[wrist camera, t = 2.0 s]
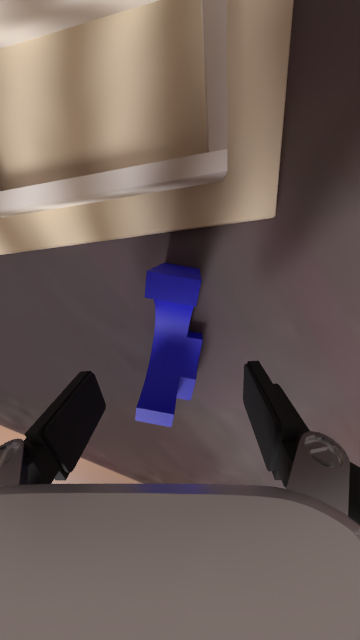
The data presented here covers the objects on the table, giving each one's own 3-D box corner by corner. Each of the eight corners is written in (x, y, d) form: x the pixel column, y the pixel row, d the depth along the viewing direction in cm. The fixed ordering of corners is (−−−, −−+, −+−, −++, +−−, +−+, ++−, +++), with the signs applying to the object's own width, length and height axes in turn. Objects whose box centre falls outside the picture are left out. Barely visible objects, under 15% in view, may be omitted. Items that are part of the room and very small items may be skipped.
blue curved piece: (191, 378, 19) (189, 430, 14) (152, 371, 19) (135, 420, 14) (216, 271, 15) (228, 285, 9) (164, 262, 15) (146, 270, 9)
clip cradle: (298, -152, 7) (342, -322, 5) (270, 218, 13) (286, 211, 10) (-129, 9, 10) (-218, -56, 8) (-8, 255, 16) (-41, 257, 13)
